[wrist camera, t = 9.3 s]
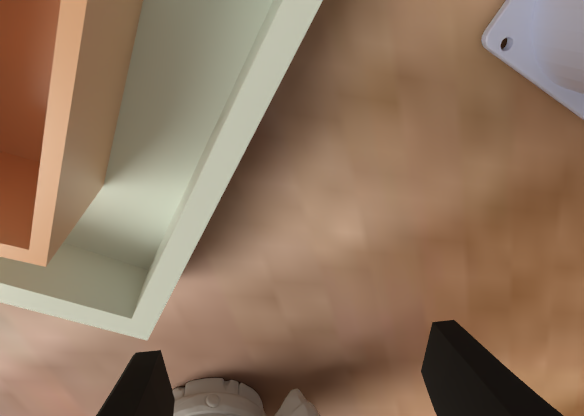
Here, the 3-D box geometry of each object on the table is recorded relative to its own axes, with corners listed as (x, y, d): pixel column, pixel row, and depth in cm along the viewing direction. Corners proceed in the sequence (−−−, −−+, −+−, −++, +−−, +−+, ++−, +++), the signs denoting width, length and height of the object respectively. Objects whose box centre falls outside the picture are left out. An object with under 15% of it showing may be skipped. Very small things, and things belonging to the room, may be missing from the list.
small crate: (146, -14, 13) (89, -16, 8) (103, 185, 16) (46, 266, 11) (-25, -90, 11) (-215, -147, 7) (-32, 146, 15) (-163, 220, 10)
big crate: (317, -32, 14) (342, -39, 10) (163, 279, 20) (147, 340, 17) (-170, -366, 9) (-418, -579, 6) (-173, 173, 15) (-292, 226, 12)
